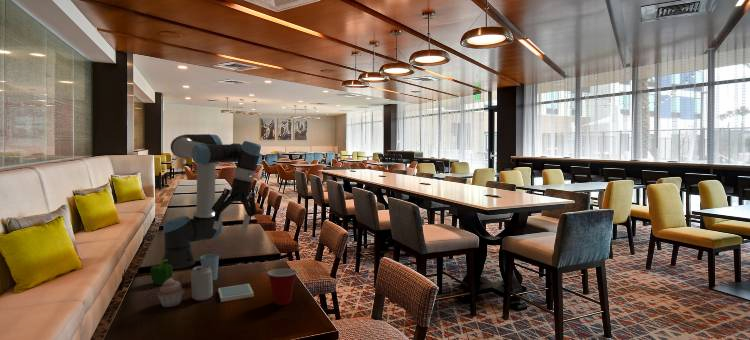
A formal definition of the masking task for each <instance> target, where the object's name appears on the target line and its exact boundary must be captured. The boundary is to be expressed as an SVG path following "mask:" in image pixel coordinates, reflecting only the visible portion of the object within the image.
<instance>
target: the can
mask: <svg viewBox="0 0 750 340" xmlns="http://www.w3.org/2000/svg"><path fill="white" fill-rule="evenodd" d="M190 280H191V283H190V284H191V297H192V299H193V300H195V301H197V302H198V301H206V300H209V299H210V298H211V297H212V296H213V295H214V286H213V285H214V284H213V283H214V281H212V270H211V269H210V266H206V265H204V266H201V265H197V266H194V267H193V268H192V270H191V272H190Z"/></svg>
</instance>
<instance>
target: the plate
mask: <svg viewBox="0 0 750 340" xmlns="http://www.w3.org/2000/svg"><path fill="white" fill-rule="evenodd" d="M217 290H218V296H219V300H220V303H224V302H229V301H237V300H241V299H248V298H253V297H255V293H254V291H253V289H252V287H251V284H250V283H244V284H237V285H231V286H224V287H218V289H217Z"/></svg>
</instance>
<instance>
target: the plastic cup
mask: <svg viewBox="0 0 750 340" xmlns="http://www.w3.org/2000/svg"><path fill="white" fill-rule="evenodd" d="M297 273H298V270H296V269H293V268H277V269H276V268H274V269H271V270H268V271H267V275H268V277H269V282H270V286H271V292H272V296H273V300H274V304H275V305H276V306H287V305H290V304H291V303H292V297H293V291H294V284H295V279H296V276H297Z"/></svg>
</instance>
